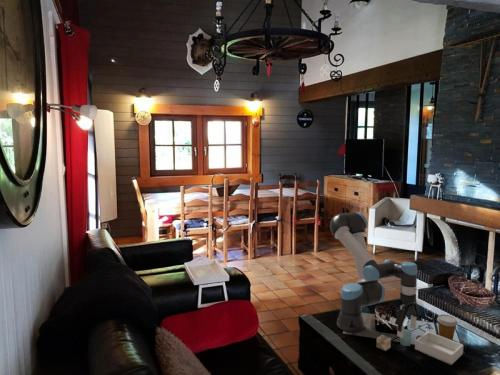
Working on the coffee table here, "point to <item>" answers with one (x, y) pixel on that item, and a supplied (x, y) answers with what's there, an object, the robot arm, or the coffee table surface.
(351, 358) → the coffee table surface
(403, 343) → the teal capsule
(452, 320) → the disposable coffee cup
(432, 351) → the tote
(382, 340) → the beech cube
